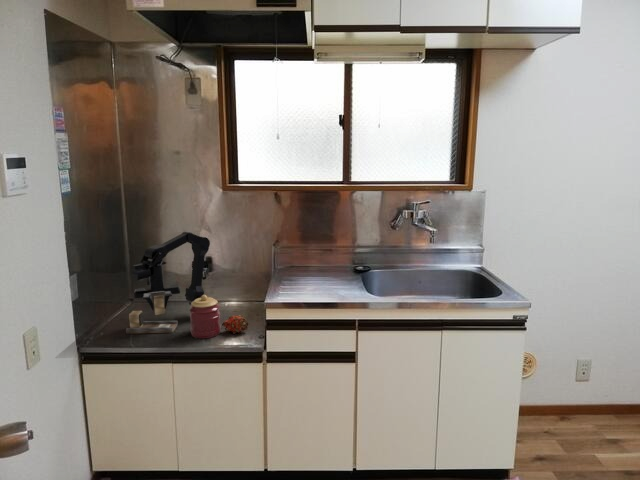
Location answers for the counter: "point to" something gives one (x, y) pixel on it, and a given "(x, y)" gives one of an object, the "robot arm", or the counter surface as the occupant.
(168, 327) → the slider rail with block
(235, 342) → the counter surface
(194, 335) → the canister
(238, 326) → the dragon fruit
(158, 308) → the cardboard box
